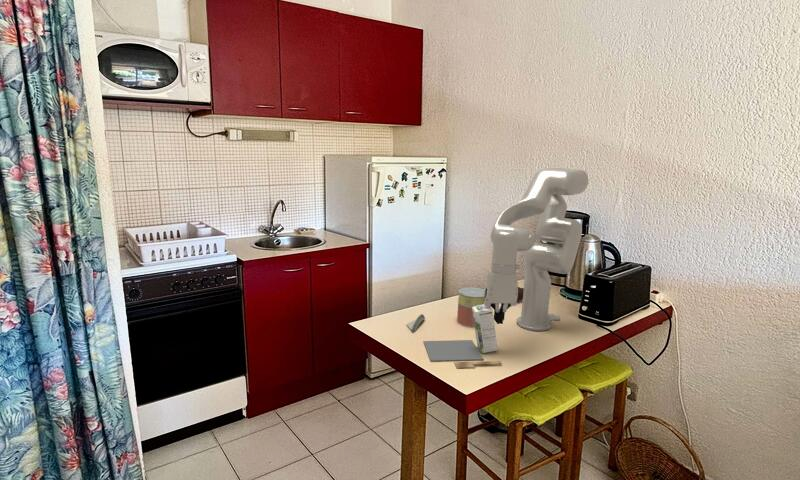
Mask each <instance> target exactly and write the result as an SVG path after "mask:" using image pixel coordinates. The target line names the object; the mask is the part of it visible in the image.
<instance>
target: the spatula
mask: <svg viewBox="0 0 800 480" xmlns="http://www.w3.org/2000/svg"><path fill="white" fill-rule="evenodd" d="M453 363H454V366H455V368H456V369H457V370H464V369H469V370H470V369H476V368H477V367H481V368H482V367H502V364H503V363H502V362H501V360H488V361H487V360H486V361H485V360H478V361H453Z"/></svg>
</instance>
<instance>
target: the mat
mask: <svg viewBox="0 0 800 480" xmlns="http://www.w3.org/2000/svg"><path fill="white" fill-rule="evenodd" d="M423 344H424V347H425V351H426V353H427V356H428V359H429V362H430V363H431V362H432V363H433V362H436V363H437V362H478V361H485V359H484V357H483V356H482V355H483V354H482V353H481V352H480V350H479V348H478V346H477V345H476V343H474V340H473V339H464V340H463V339H462V340H461V339H460V340H459V339H456V340H454V339H453V340H452V339H451V340H423Z"/></svg>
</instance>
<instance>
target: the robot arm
mask: <svg viewBox="0 0 800 480" xmlns="http://www.w3.org/2000/svg"><path fill="white" fill-rule="evenodd" d="M588 184H589V175H588V173H587V172H586V170H584V169H577V168H575V169H574V168H563V167H562V168H561V167H550V168H549V167H548V168H543V169H539V170H537V171H536V172H535V173H534V175H533V177H532V179H531V180H530V183H529V184H528V186H527V189H526V190H525V193H524V194H523V195H522V198H521V199H520V200H518V201H516V202H514V203H513V204H511V205H509V206H508V207H507V208H505V209H504V210H503V211H502V212H501V213H500V214H499V215H498V217H497V218H496V221H495V223H494V224H493V226H492V230H491V232H490V239H491V240H490V241H491V242H492V254H491V267H490V270H488V271H487V275H486V280H485V282H484V288H483V289H484V298H485V301H484V305H485V306H489V307H491V309H492V310H493V317H494V322H495V323H496V324H497V325H503V323H504V321H505V316H506V314H505V313H506V312H507V310H509V309H510V308H511V307H515V306H517V305H518V304H517V302H518V301H517V298H518V287H519V281H518V273H517V270H520V268H521V267H520V264H517V257H518V255H517V254H518V252H523V253H524V254H523V260H524V283H523V288H524V292H523V300H522V305H521V314H520V316H518V317H517V318H516V324H517V325H518V326H519V327H521V328H523V329H525V330H529V331H535V332H541V331H542V332H543V331H548V330H550V329H551V327H552V323H551V322H560V321H561V317H560V315H554V313H549V306H550V298H551V297H550V296H551V287H552V281H551V280H552V279H551V277H550V274H549V272H551V273H556V274H560V275H561V274H562V275H566V274H569V273H570V272H571V271H572V269H573V267H574V264H575V260H576V256H577V253H578V251H579V247H580V243H581V239H582V234H583V227H582V223H580V221H578V220H577V219H572V218H568V217H565V216H566V213H567V211H568V210H567V208H568V205H567V203H566V200H565V199H564V196H575V195H580V194H582V193H583V192H585V191H586V190H587V187H588ZM535 216H539V218H538V222H537V225H536V229H535V232H534V231H533V230H532V229H529V228H527V227H522V226H521V227H520V226H516V225H512V224H514V223H515V222H518V221H520V220H523V219H529V218H533V217H535ZM536 238H537V239H539V240H540V241H543V242H549V243H554V244H559V245H554V244H549V243H548V244H547V243H543V242H536ZM560 244H561V245H562V246H561V245H560Z"/></svg>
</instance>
